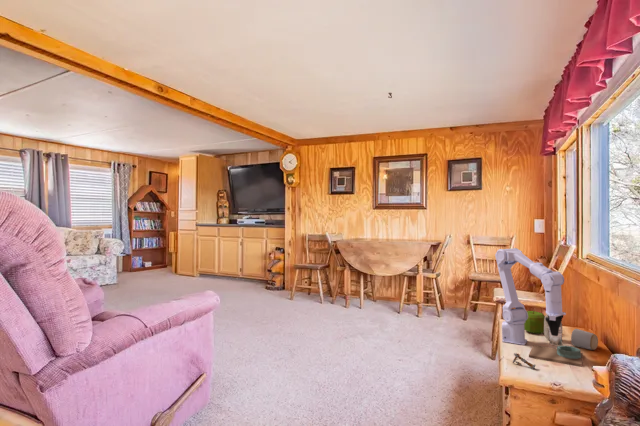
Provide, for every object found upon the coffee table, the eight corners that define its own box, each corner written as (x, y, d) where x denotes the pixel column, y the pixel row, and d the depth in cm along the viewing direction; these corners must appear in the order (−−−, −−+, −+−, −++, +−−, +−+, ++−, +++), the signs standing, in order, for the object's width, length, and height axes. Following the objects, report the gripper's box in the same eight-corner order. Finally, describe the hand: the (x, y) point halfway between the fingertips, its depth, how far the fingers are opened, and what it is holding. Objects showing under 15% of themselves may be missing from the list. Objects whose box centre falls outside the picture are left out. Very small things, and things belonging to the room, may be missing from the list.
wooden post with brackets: (511, 360, 146) (515, 351, 145) (531, 373, 140) (536, 364, 139) (509, 361, 145) (513, 352, 144) (529, 375, 139) (534, 365, 138)
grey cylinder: (592, 352, 153) (591, 334, 153) (570, 347, 160) (570, 329, 160) (602, 347, 159) (601, 330, 159) (581, 342, 166) (580, 325, 166)
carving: (565, 343, 165) (563, 317, 166) (546, 341, 168) (545, 316, 168) (560, 338, 171) (559, 313, 172) (542, 337, 174) (541, 312, 174)
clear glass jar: (549, 344, 148) (548, 327, 149) (549, 341, 152) (548, 324, 152) (562, 346, 146) (561, 328, 146) (562, 343, 149) (561, 326, 150)
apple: (519, 328, 189) (518, 307, 189) (542, 329, 186) (541, 308, 186) (525, 335, 178) (524, 313, 179) (550, 336, 175) (549, 313, 176)
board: (528, 357, 150) (528, 348, 150) (533, 347, 161) (533, 339, 161) (581, 366, 139) (581, 357, 139) (582, 355, 150) (582, 347, 150)
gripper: (563, 305, 141) (565, 340, 141) (566, 298, 152) (568, 330, 152) (542, 303, 146) (544, 337, 145) (547, 297, 157) (548, 328, 157)
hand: (555, 333), depth 149 cm, fingers closed on clear glass jar, 4 cm apart
